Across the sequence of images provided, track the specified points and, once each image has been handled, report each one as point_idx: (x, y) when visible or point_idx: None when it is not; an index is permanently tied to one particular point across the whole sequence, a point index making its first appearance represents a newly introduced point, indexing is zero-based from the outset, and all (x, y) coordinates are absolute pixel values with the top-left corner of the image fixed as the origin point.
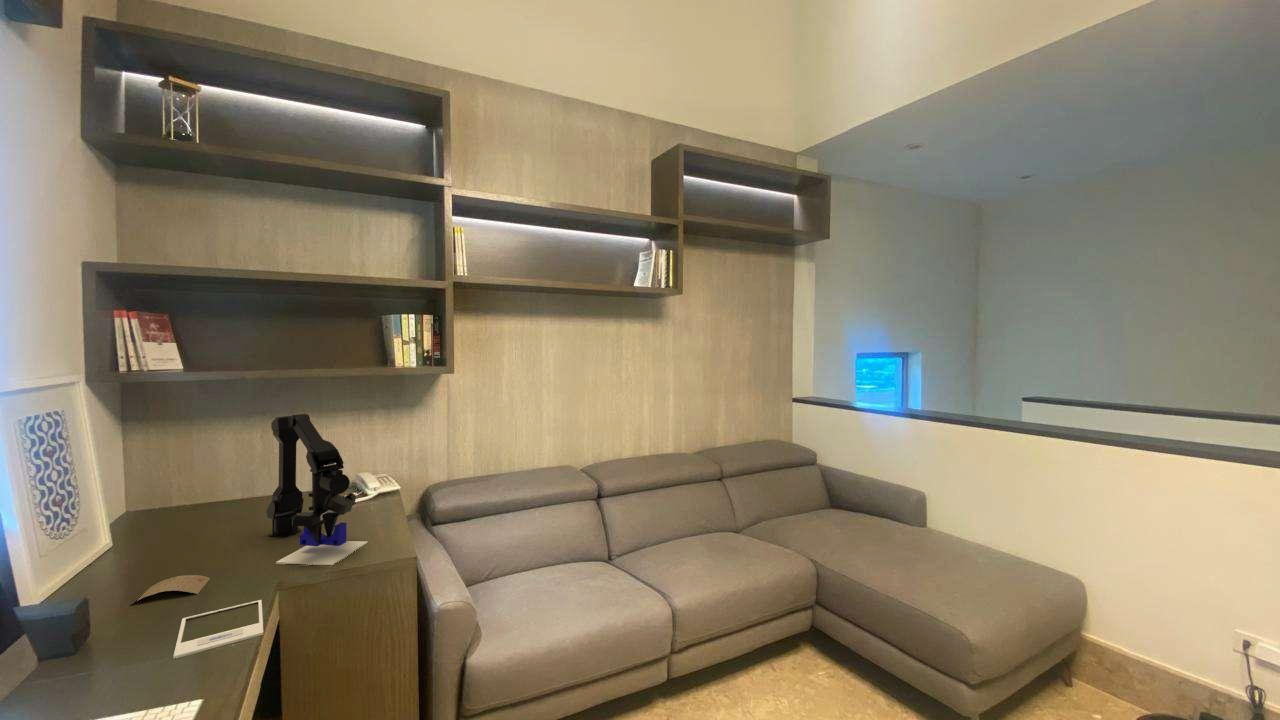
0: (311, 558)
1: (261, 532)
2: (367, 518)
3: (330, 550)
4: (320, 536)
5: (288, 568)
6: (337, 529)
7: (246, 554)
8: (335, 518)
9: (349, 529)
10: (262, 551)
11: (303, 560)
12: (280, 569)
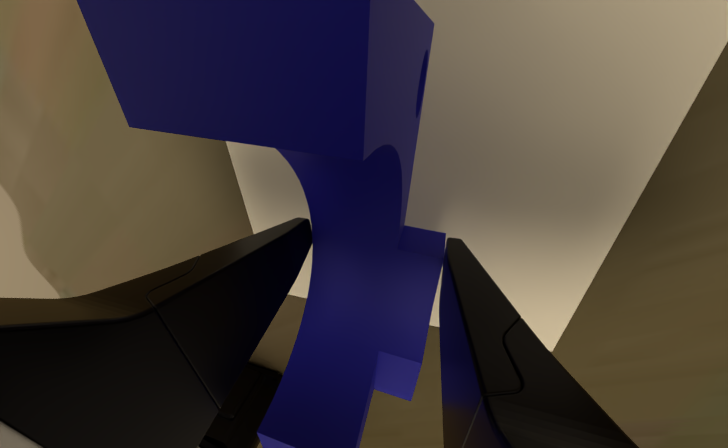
0: (529, 203)
1: None
2: (44, 214)
3: None
4: (459, 267)
5: (656, 268)
6: (396, 45)
7: (423, 424)
8: (121, 310)
9: (136, 224)
10: (396, 399)
11: (561, 236)
12: (658, 301)
